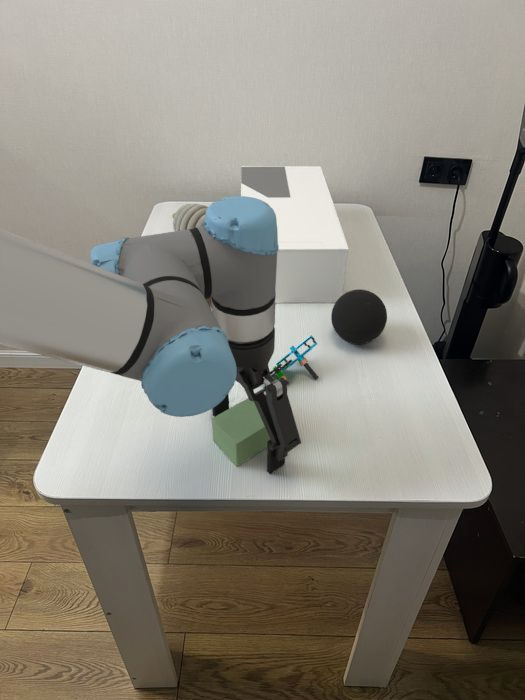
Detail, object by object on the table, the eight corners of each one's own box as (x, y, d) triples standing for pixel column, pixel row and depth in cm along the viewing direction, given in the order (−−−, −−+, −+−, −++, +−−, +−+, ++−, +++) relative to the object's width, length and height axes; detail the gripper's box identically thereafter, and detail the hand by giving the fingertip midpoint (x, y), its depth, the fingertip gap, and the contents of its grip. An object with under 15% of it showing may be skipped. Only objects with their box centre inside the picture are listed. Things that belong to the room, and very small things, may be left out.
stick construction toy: (302, 338, 89) (315, 327, 81) (326, 368, 89) (341, 359, 81) (252, 378, 85) (260, 370, 78) (277, 409, 85) (288, 405, 78)
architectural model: (241, 210, 135) (240, 165, 127) (316, 210, 136) (320, 165, 128) (241, 303, 101) (240, 249, 93) (341, 302, 102) (349, 248, 94)
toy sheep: (209, 269, 111) (206, 223, 104) (158, 246, 119) (152, 203, 112) (239, 251, 118) (238, 207, 111) (188, 231, 126) (184, 189, 119)
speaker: (319, 328, 95) (324, 284, 88) (364, 318, 98) (372, 274, 91) (344, 360, 88) (351, 315, 81) (392, 348, 91) (402, 303, 84)
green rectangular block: (236, 466, 70) (236, 444, 67) (213, 440, 73) (211, 418, 70) (279, 439, 74) (280, 417, 71) (254, 416, 77) (254, 393, 74)
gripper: (339, 366, 54) (322, 480, 68) (212, 274, 69) (219, 383, 83) (288, 397, 51) (281, 510, 64) (165, 292, 65) (181, 403, 79)
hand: (247, 439), depth 74 cm, fingers open, 13 cm apart
